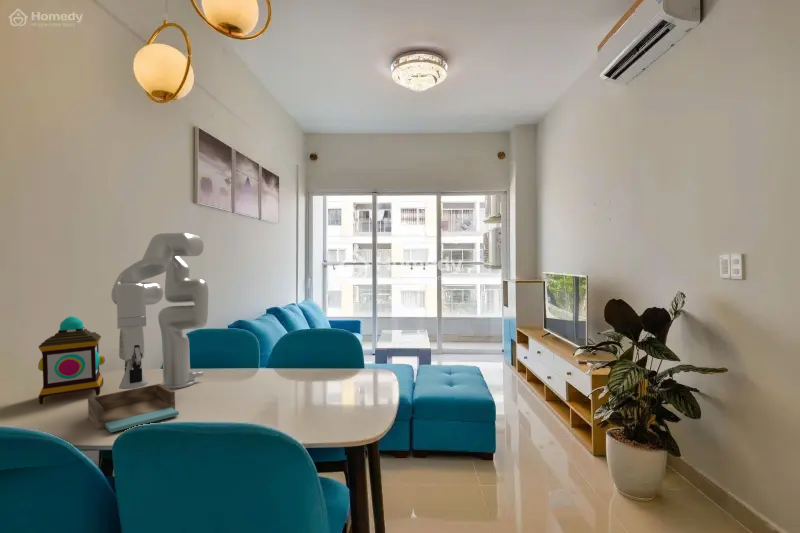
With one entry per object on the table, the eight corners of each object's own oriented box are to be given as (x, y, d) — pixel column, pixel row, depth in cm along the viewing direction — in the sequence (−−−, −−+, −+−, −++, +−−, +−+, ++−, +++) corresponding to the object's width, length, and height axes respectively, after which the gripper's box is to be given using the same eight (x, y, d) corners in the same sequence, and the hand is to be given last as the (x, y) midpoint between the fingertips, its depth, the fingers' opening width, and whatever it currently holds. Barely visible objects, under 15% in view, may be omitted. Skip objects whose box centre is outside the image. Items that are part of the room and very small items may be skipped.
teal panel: (170, 407, 129) (178, 411, 123) (170, 410, 129) (178, 414, 123) (104, 423, 116) (110, 428, 111) (104, 426, 116) (110, 432, 111)
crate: (160, 400, 141) (159, 383, 141) (175, 410, 130) (174, 391, 130) (88, 417, 127) (87, 398, 127) (98, 429, 116) (98, 408, 116)
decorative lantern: (103, 395, 151) (101, 315, 151) (33, 407, 140) (30, 320, 141) (107, 384, 168) (105, 312, 168) (44, 394, 157) (42, 316, 157)
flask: (133, 390, 122) (132, 357, 122) (113, 389, 123) (112, 357, 124) (152, 383, 129) (152, 352, 129) (133, 383, 130) (132, 352, 131)
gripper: (111, 322, 130) (112, 379, 129) (124, 325, 118) (126, 388, 118) (138, 320, 135) (140, 374, 135) (153, 322, 123) (155, 382, 123)
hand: (133, 380), depth 126 cm, fingers closed on flask, 5 cm apart
